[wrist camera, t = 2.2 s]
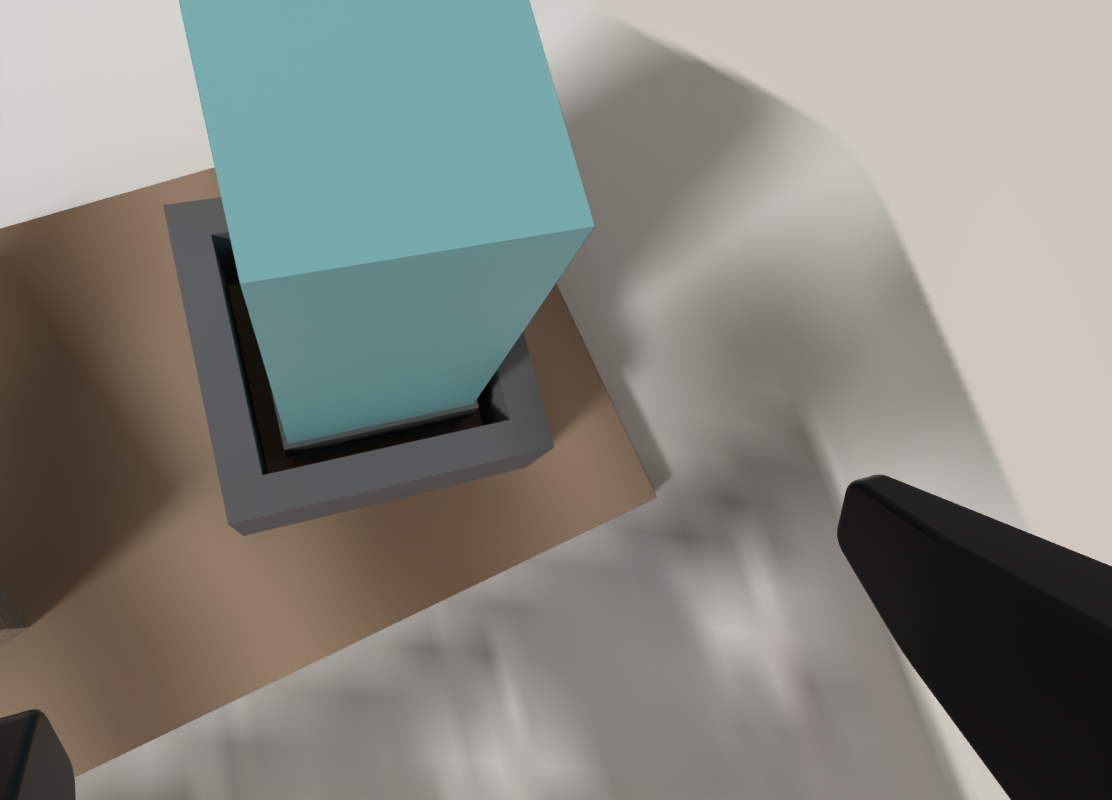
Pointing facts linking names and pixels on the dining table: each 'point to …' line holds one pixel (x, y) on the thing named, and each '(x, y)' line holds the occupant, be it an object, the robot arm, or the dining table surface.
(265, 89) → the plug
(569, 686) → the dining table surface
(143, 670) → the panel board
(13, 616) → the port
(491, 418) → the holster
